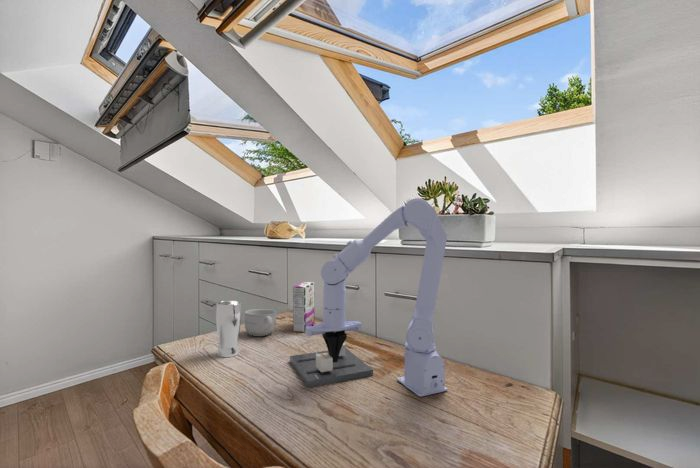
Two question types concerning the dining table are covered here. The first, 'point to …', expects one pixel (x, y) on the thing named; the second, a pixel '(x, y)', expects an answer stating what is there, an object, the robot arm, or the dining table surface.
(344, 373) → the fader console
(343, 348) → the fader far
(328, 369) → the fader near
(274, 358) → the dining table surface
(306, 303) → the candy bar box
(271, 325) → the teacup
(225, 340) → the beer glass
